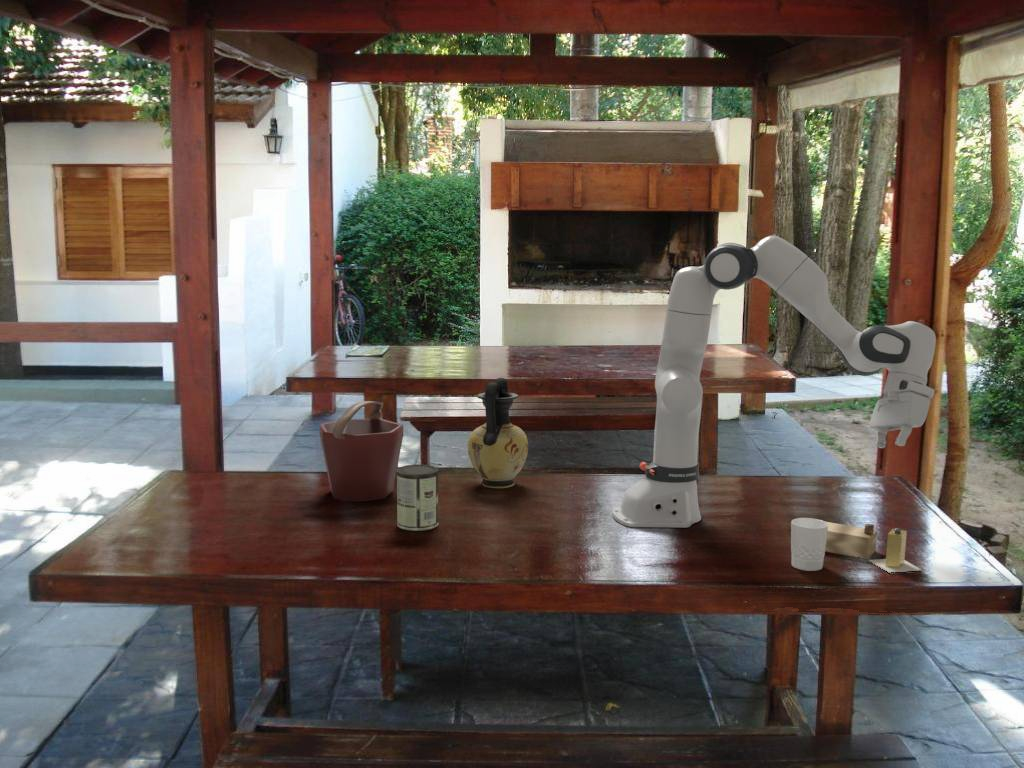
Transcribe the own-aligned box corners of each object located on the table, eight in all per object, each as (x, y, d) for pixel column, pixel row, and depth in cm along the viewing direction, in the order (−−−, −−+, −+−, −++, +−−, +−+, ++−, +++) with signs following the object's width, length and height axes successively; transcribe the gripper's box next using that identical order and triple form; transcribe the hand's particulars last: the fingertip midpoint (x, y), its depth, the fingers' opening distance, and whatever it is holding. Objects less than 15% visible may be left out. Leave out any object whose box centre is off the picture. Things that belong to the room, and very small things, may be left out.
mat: (888, 573, 235) (888, 571, 235) (869, 561, 242) (869, 559, 242) (921, 571, 236) (921, 569, 236) (901, 559, 244) (901, 558, 244)
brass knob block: (885, 566, 238) (888, 530, 237) (890, 560, 242) (893, 525, 241) (899, 568, 237) (902, 532, 235) (904, 563, 240) (907, 527, 239)
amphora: (472, 475, 313) (473, 374, 308) (529, 478, 311) (531, 375, 306) (463, 491, 296) (464, 384, 291) (524, 494, 294) (526, 386, 289)
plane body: (806, 547, 252) (808, 519, 250) (816, 540, 257) (817, 512, 256) (867, 559, 244) (869, 529, 243) (875, 551, 250) (877, 522, 249)
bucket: (364, 477, 309) (364, 392, 305) (423, 490, 296) (423, 401, 292) (301, 495, 289) (300, 404, 285) (361, 510, 276) (360, 415, 272)
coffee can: (409, 516, 272) (409, 462, 269) (445, 522, 267) (446, 467, 265) (388, 527, 262) (388, 471, 260) (425, 533, 258) (425, 476, 256)
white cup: (783, 560, 242) (786, 517, 241) (817, 560, 243) (820, 517, 241) (795, 572, 235) (798, 528, 233) (830, 572, 235) (833, 528, 234)
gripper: (871, 390, 261) (857, 444, 259) (913, 381, 241) (898, 439, 239) (894, 398, 262) (880, 452, 260) (939, 390, 242) (924, 448, 240)
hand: (889, 446), depth 250 cm, fingers open, 8 cm apart
